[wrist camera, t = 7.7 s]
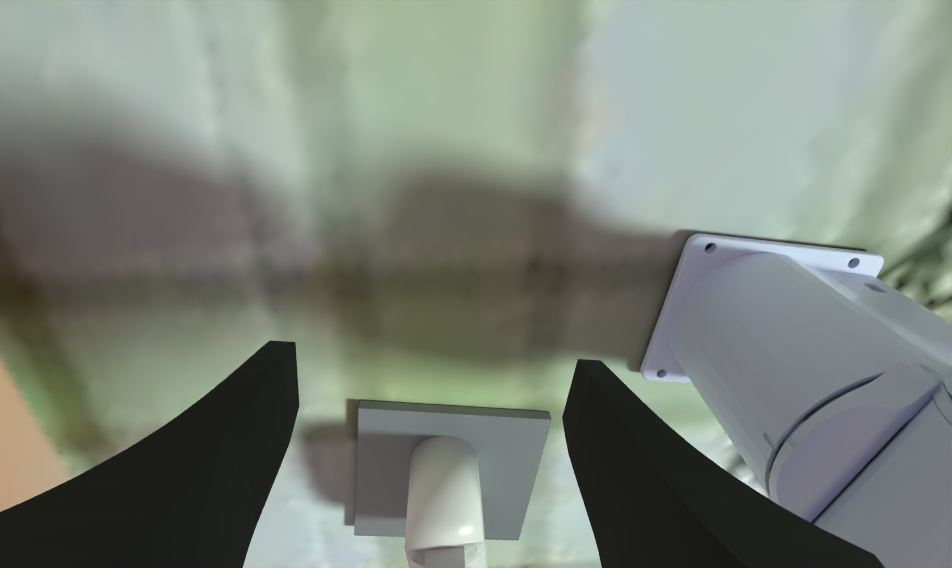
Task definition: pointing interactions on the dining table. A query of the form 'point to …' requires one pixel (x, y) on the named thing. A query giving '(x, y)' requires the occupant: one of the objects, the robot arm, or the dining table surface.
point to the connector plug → (444, 506)
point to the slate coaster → (407, 425)
